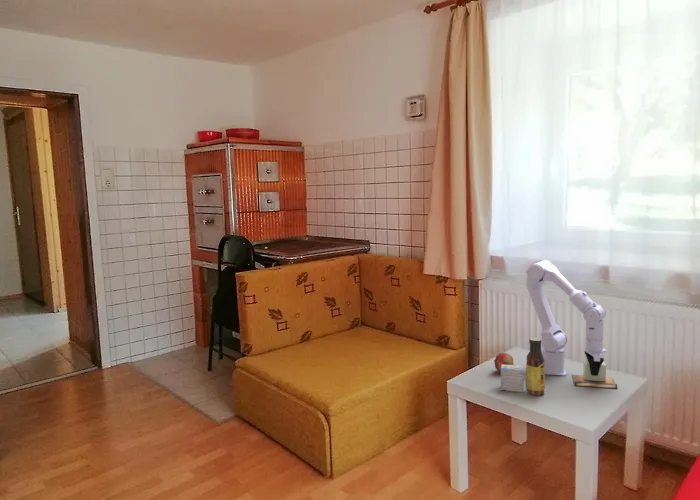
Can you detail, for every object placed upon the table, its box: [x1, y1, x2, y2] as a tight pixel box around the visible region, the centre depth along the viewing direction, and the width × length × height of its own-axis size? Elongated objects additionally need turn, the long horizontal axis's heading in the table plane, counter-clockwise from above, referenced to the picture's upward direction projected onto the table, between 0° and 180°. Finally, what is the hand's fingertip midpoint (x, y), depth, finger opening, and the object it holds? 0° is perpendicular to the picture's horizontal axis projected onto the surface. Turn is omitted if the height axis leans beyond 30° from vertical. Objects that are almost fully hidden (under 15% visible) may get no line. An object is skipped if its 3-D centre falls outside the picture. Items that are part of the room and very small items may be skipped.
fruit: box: [493, 352, 515, 373], centre depth 199 cm, size 8×8×8 cm
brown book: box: [571, 374, 618, 390], centre depth 187 cm, size 14×9×2 cm, turn 72°
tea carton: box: [582, 360, 607, 382], centre depth 188 cm, size 4×7×6 cm, turn 72°
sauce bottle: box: [525, 337, 546, 396], centre depth 180 cm, size 7×6×20 cm
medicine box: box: [500, 364, 524, 393], centre depth 184 cm, size 8×4×9 cm, turn 71°
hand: (593, 372), depth 188 cm, fingers closed on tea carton, 4 cm apart
